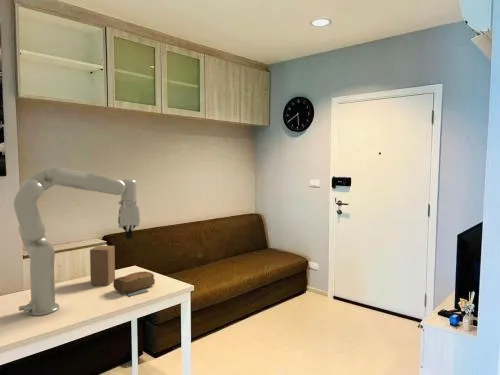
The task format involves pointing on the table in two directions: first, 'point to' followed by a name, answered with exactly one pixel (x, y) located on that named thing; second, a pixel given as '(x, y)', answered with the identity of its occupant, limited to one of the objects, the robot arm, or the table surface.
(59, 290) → the table surface
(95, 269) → the wooden block
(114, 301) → the table surface
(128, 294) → the mat
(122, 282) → the block
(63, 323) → the table surface
